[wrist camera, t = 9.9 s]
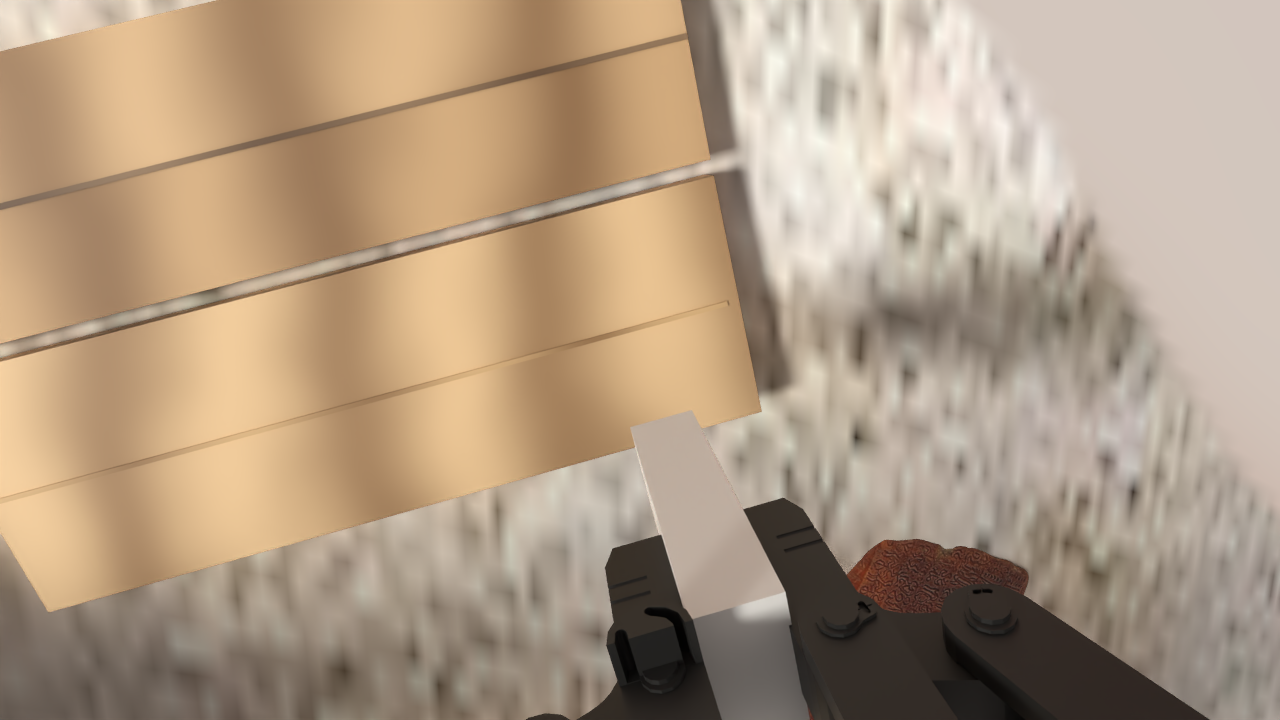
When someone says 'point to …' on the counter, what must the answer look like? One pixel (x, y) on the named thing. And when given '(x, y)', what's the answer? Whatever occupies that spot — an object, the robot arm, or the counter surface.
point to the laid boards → (314, 136)
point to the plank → (367, 391)
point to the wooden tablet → (927, 575)
